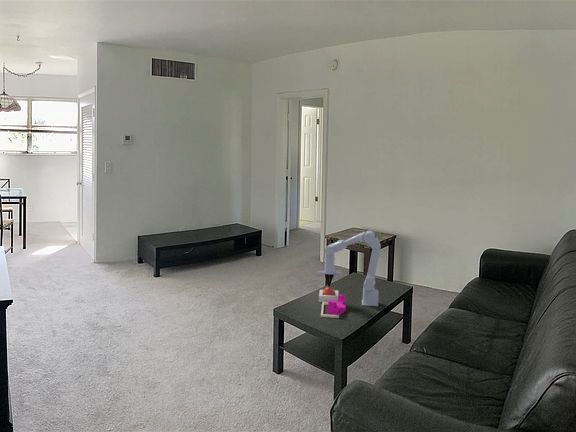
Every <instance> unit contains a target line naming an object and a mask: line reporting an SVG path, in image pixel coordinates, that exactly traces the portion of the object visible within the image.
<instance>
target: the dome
mask: <svg viewBox="0 0 576 432" xmlns="http://www.w3.org/2000/svg"><path fill="white" fill-rule="evenodd" d="M322 290H323V295H335V291H334V290H335V289H333V288H332V287H331V286H330V287H328V286H327V287H325V288H324V289H322Z"/></svg>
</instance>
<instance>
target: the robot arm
mask: <svg viewBox="0 0 576 432" xmlns="http://www.w3.org/2000/svg"><path fill="white" fill-rule="evenodd" d="M357 242H360V243H365V244H367V245H368V246H370V247H371V254H370V259H369V265H368V269H367V274H366V278H365V280H364V282H363V285H362V287H363V288H362V300H361V306H367V307H370V306H371V307H379V302H380V299H379V293H380V292H379V289H376V288H375V285H376V272H377V269H378V268H377V267H378V262H379V258H380V253H381V252H380V251H381V247H382V246H381V242H380V241H379V237H378V235H377V233H376V232H375V231H374V230H367V231H363V232H359V233H358V234H356V235H354V236H352V237H350V238H347V239H346V240H344V239H338V240H337V241H336V242H334V243H333V242H332V243H330V244H328V245H327V246H326V247H325V248H324V254H325V256H324V270H317V272H316V274H317V275H324V278H325V280H326V284H327V287H331V284H332V282H333V279H334V277H335V276H341V277H342V271H338V270H337V271H336V270H335V261H336V260H335V258H336V257H335V253H339V252H340V251H343V250H346V249H347V247H348V246H349V245H352V244H355V243H357Z"/></svg>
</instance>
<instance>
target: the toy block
mask: <svg viewBox="0 0 576 432" xmlns="http://www.w3.org/2000/svg"><path fill="white" fill-rule="evenodd" d="M346 301H347V296H346V295H345V294H341V293H340V294H338V300H337V303H336V301H331V300H330V301H328V305H327V315H339V316H340V315H342V314H343V313H344V312H346V311H347V305H346V303H347V302H346Z"/></svg>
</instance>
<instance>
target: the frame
mask: <svg viewBox="0 0 576 432" xmlns="http://www.w3.org/2000/svg"><path fill="white" fill-rule="evenodd" d="M324 306H328V303H327V302H321V311H320V317H321V318H333V319H334V318H336V319H340V315H330V314H328V313H327V314H325V313H324V308H325V307H324Z"/></svg>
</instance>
